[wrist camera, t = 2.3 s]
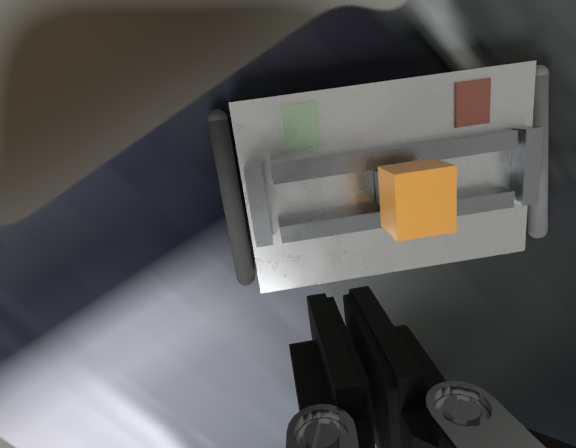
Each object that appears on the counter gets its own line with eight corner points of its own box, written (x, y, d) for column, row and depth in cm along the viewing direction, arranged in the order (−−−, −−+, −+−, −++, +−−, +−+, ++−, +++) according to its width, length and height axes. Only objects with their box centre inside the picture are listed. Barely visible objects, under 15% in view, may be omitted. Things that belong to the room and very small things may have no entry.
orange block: (416, 207, 29) (456, 232, 23) (368, 214, 28) (397, 241, 23) (415, 152, 27) (456, 165, 22) (365, 160, 27) (394, 174, 22)
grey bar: (255, 279, 32) (256, 286, 30) (238, 281, 32) (238, 289, 30) (226, 107, 27) (225, 107, 26) (206, 110, 27) (204, 110, 26)
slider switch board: (508, 242, 33) (538, 257, 29) (260, 281, 32) (261, 302, 28) (517, 63, 28) (552, 58, 25) (229, 102, 27) (227, 102, 24)
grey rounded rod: (539, 232, 33) (551, 238, 31) (523, 236, 33) (535, 242, 31) (539, 63, 29) (554, 62, 27) (521, 67, 29) (534, 66, 27)
